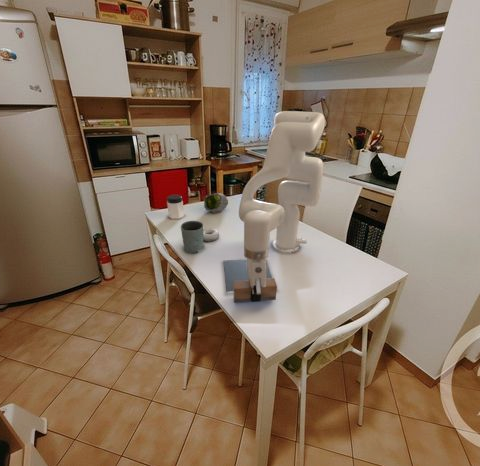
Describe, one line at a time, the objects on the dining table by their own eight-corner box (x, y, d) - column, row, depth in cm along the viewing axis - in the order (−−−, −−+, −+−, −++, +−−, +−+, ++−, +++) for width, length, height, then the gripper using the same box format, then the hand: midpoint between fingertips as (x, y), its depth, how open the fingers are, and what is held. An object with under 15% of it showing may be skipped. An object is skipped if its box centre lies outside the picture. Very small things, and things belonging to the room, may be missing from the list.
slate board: (265, 260, 113) (265, 258, 113) (275, 290, 96) (275, 288, 95) (223, 262, 112) (223, 260, 111) (226, 294, 94) (226, 291, 94)
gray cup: (192, 241, 128) (190, 218, 122) (209, 246, 123) (208, 223, 118) (178, 250, 120) (175, 226, 115) (195, 256, 116) (193, 232, 110)
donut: (197, 234, 134) (200, 243, 126) (197, 228, 133) (200, 237, 124) (217, 232, 137) (221, 241, 128) (216, 226, 135) (220, 234, 127)
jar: (176, 212, 159) (173, 193, 154) (186, 214, 156) (185, 195, 150) (165, 217, 152) (163, 198, 147) (176, 220, 149) (174, 200, 143)
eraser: (273, 291, 91) (274, 278, 88) (275, 299, 88) (277, 285, 85) (233, 294, 90) (233, 281, 87) (234, 303, 87) (234, 289, 84)
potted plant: (232, 205, 161) (220, 206, 148) (217, 215, 167) (204, 218, 154) (223, 188, 162) (210, 188, 149) (208, 199, 168) (195, 200, 155)
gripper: (274, 265, 73) (270, 313, 82) (263, 236, 88) (261, 279, 96) (247, 267, 72) (246, 315, 81) (240, 237, 87) (240, 281, 96)
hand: (254, 295), depth 89 cm, fingers closed on eraser, 4 cm apart
